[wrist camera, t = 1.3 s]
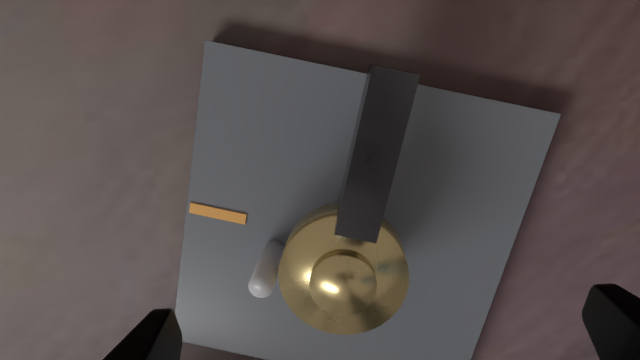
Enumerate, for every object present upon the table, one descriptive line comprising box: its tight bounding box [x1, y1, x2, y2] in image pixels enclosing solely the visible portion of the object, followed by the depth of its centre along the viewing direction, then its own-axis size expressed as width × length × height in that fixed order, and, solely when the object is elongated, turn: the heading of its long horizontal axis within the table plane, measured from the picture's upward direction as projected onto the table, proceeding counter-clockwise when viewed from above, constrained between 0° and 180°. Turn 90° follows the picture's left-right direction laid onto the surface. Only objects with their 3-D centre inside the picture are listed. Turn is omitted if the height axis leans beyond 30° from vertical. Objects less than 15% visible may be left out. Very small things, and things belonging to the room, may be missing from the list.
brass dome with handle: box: [278, 64, 420, 335], centre depth 19 cm, size 6×12×3 cm, turn 169°
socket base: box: [175, 40, 561, 360], centre depth 22 cm, size 18×18×5 cm
